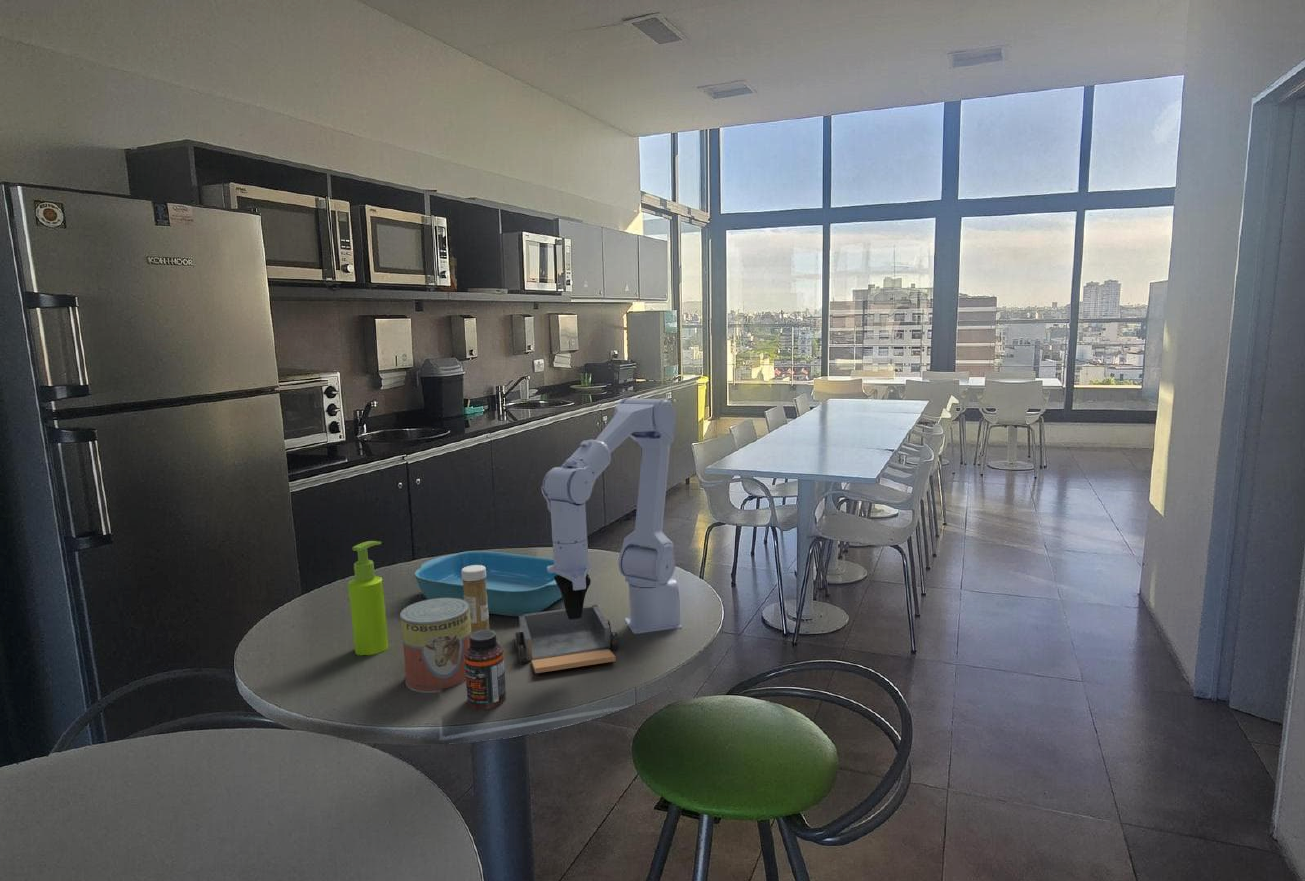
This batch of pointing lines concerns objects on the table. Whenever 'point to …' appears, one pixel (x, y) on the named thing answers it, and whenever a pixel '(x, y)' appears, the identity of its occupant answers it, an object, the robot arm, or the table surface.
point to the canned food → (435, 643)
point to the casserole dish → (494, 580)
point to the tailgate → (573, 661)
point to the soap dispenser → (367, 605)
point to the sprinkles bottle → (476, 596)
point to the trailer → (563, 634)
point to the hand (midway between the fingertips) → (574, 617)
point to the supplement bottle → (485, 671)
